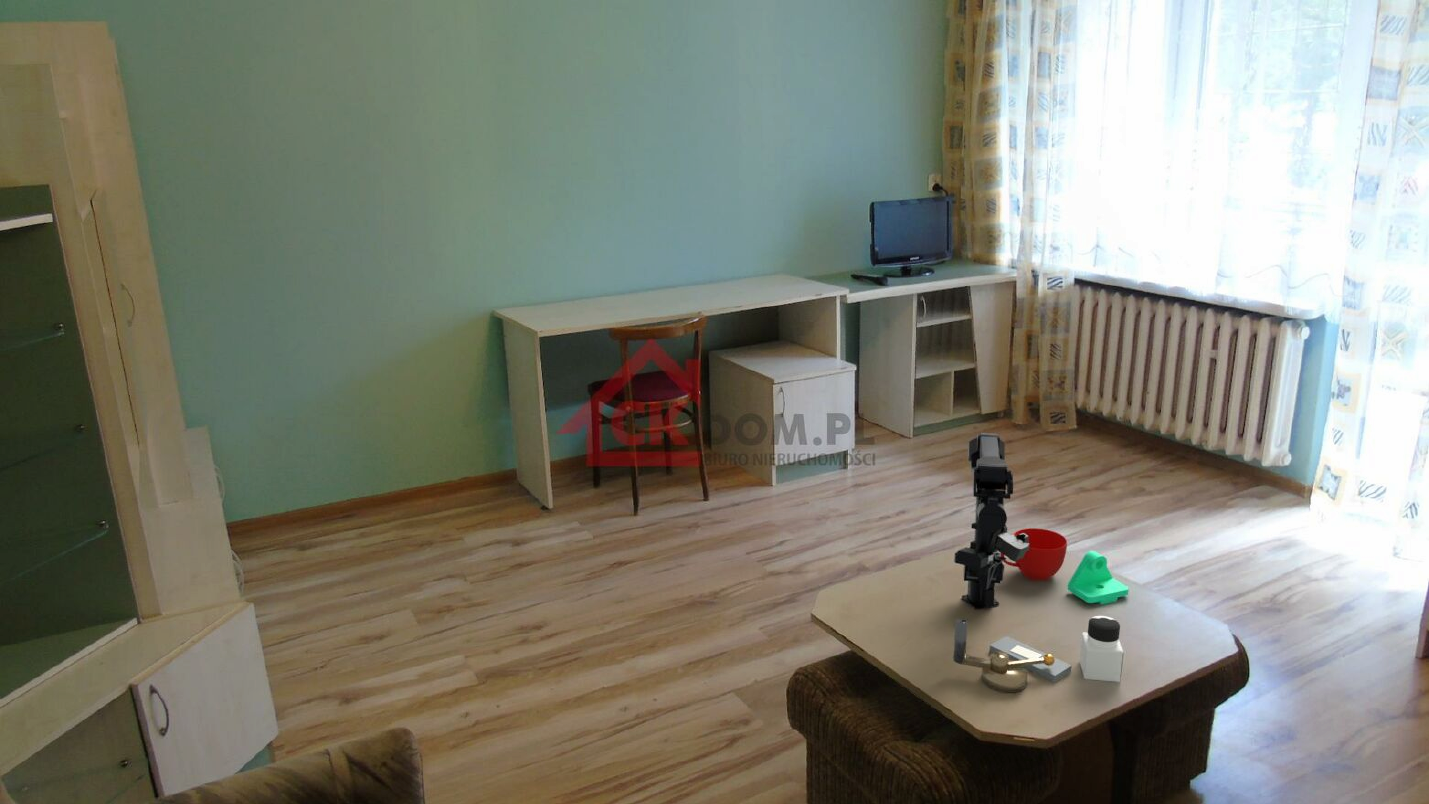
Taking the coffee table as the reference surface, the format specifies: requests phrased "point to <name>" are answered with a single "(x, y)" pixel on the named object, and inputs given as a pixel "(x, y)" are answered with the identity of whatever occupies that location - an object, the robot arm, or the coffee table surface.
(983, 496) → the robot arm
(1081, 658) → the medicine bottle
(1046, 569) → the ceramic cup
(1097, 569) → the camera mount
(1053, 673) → the plate
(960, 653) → the crank handle
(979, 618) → the coffee table surface
